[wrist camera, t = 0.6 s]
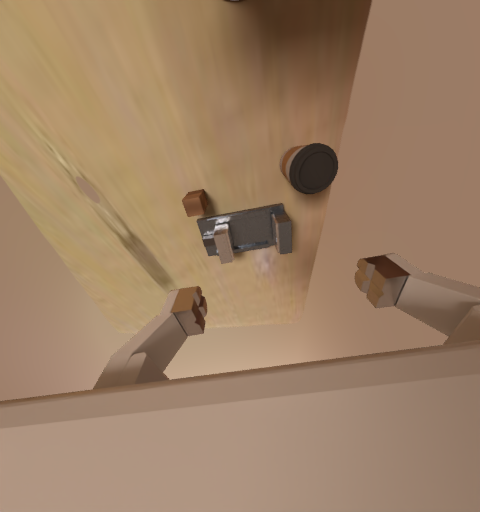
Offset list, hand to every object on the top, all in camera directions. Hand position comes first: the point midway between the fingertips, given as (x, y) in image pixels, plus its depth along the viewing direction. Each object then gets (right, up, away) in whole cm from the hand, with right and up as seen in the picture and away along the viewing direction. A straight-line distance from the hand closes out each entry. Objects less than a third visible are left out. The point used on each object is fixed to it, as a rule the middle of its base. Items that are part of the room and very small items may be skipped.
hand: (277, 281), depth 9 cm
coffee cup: (+11, +24, +34) cm, 43 cm away
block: (-13, +17, +38) cm, 43 cm away
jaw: (-8, +7, +42) cm, 44 cm away
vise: (-1, +9, +43) cm, 44 cm away
